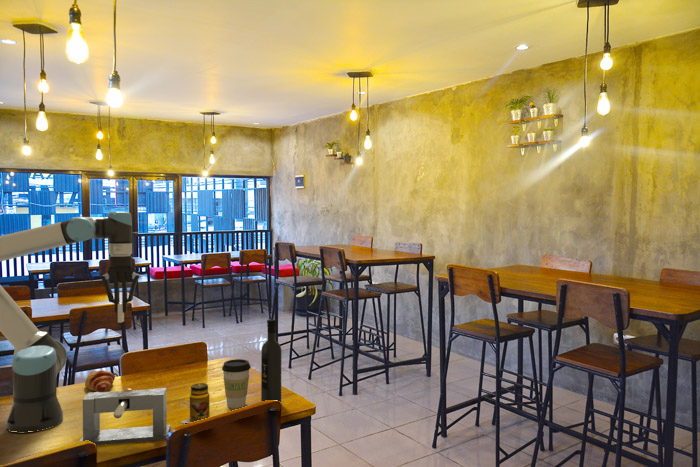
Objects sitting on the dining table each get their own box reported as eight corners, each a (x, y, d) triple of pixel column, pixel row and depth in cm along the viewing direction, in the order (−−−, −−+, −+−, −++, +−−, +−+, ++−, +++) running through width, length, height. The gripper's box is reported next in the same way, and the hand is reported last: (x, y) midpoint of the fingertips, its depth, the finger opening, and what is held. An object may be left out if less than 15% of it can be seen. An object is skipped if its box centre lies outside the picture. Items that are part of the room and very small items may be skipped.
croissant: (87, 389, 202) (77, 373, 200) (111, 373, 207) (101, 357, 205) (96, 404, 185) (84, 387, 183) (122, 387, 190) (111, 370, 188)
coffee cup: (215, 407, 175) (215, 364, 175) (234, 398, 184) (234, 357, 184) (238, 412, 171) (238, 368, 170) (256, 403, 180) (256, 361, 179)
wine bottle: (268, 408, 174) (268, 322, 173) (260, 404, 178) (260, 319, 177) (282, 405, 178) (282, 320, 177) (273, 400, 182) (274, 317, 181)
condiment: (199, 428, 158) (199, 390, 158) (179, 422, 162) (179, 385, 162) (215, 420, 164) (215, 383, 164) (196, 415, 168) (196, 379, 168)
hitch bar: (78, 446, 145) (77, 401, 144) (86, 435, 152) (85, 391, 152) (166, 439, 150) (166, 395, 149) (170, 428, 158) (170, 386, 157)
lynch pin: (107, 424, 140) (107, 405, 140) (119, 405, 154) (119, 388, 154) (127, 422, 141) (127, 404, 141) (137, 404, 155) (137, 387, 155)
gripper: (97, 256, 174) (98, 324, 174) (138, 256, 176) (138, 323, 177) (103, 254, 181) (103, 320, 182) (142, 254, 184) (142, 319, 185)
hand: (121, 321), depth 180 cm, fingers closed
